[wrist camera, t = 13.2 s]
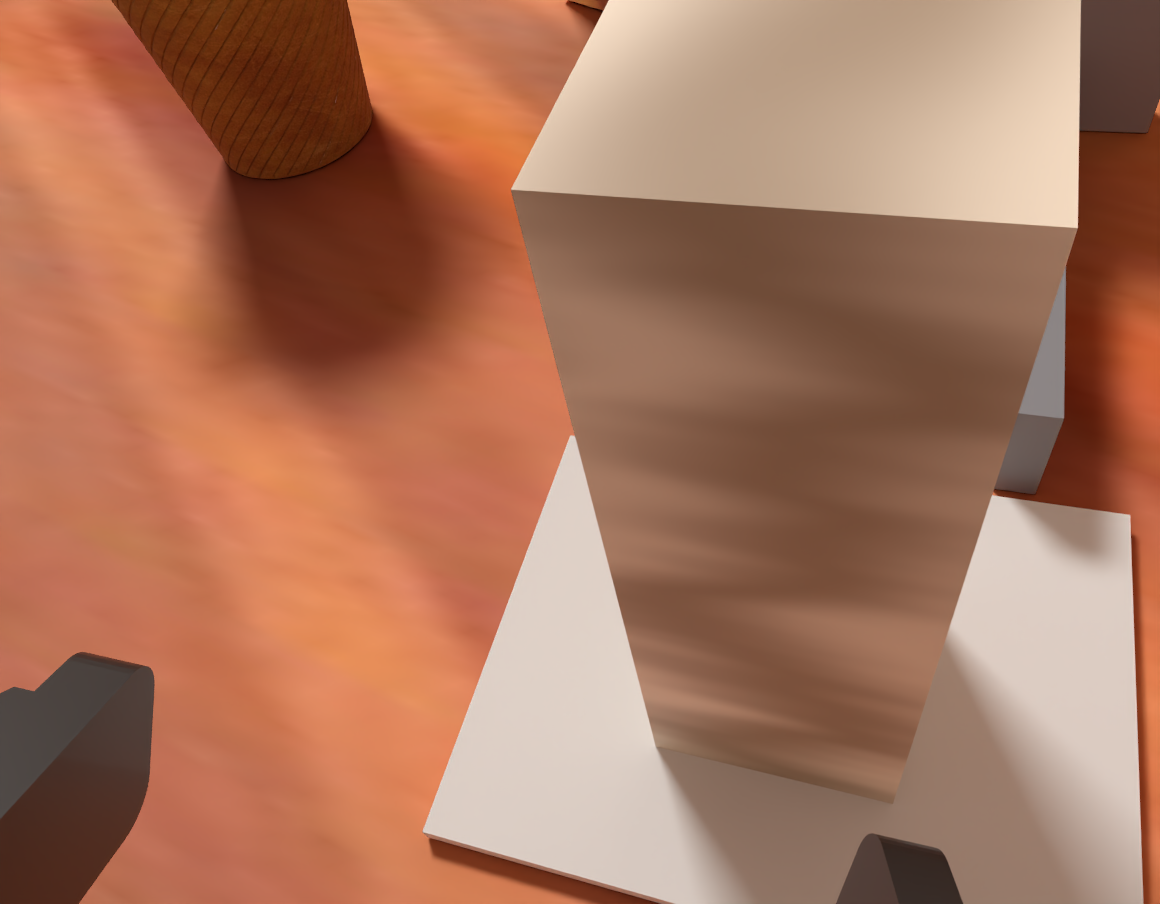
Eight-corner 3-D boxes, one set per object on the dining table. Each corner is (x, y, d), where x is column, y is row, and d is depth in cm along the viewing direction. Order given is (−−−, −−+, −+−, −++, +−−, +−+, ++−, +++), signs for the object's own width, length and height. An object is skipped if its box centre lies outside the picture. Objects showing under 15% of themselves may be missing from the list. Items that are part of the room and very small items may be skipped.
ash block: (655, 746, 21) (510, 189, 9) (705, 554, 24) (642, -66, 12) (892, 803, 20) (1077, 228, 8) (917, 591, 22) (1081, -73, 11)
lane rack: (544, 425, 28) (455, 123, 20) (676, 91, 37) (651, -207, 29) (1171, 513, 23) (1379, 163, 15) (1145, 105, 32) (1268, -247, 24)
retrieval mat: (427, 837, 21) (422, 832, 21) (572, 444, 27) (570, 435, 27) (1141, 1040, 17) (1148, 1038, 17) (1125, 524, 23) (1129, 515, 23)
